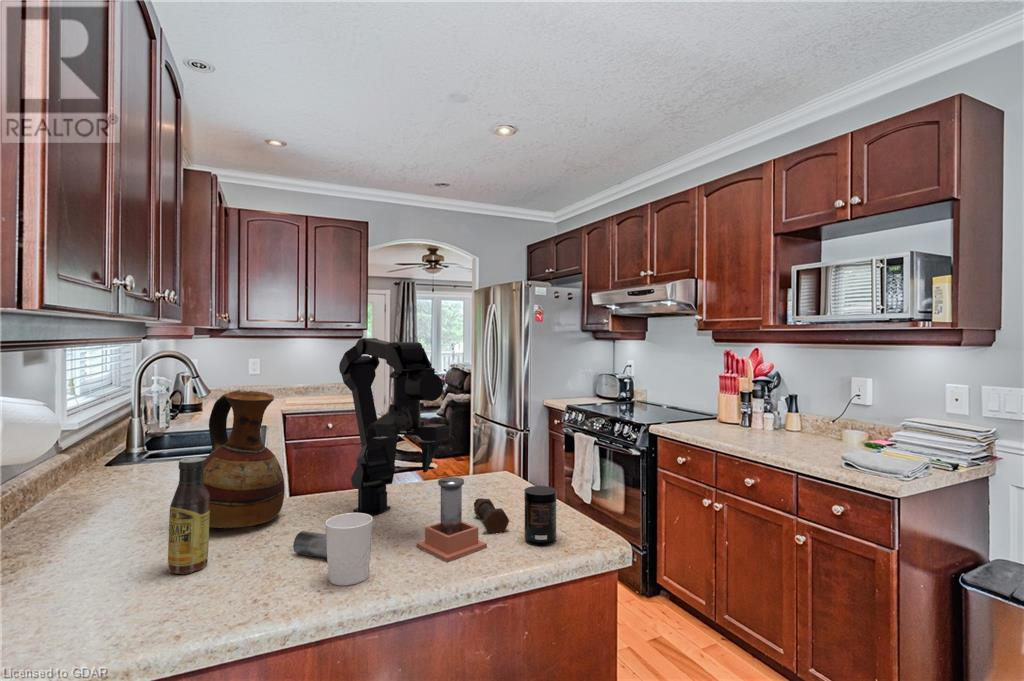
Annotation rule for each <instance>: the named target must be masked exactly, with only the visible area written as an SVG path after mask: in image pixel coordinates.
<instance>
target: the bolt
mask: <svg viewBox="0 0 1024 681" xmlns="http://www.w3.org/2000/svg"><path fill="white" fill-rule="evenodd" d="M473 510H474V513H475V514H476V516H477V518H478V519H479V520H482V524H483V526H484V528H485V529H486V531H487V532H488V534H490V535H495V534H496V533H498V534H502V533H504V532H505V531H506V529H507V527H508V525H509V523H510V519H509V517H508V516H507V514H506V513H505V511H504V509H503V508H500V507H499V508H496V507H495V505H494V503H493V501H492V500H491V499H490V498H483V497H482V498H477V499H475V501H474V503H473Z"/></svg>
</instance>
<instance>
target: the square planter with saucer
mask: <svg viewBox="0 0 1024 681" xmlns="http://www.w3.org/2000/svg"><path fill="white" fill-rule="evenodd" d="M487 545H488V543H486V542H485V541H482V540H479V526H475V525H473V524H470V523H468V522H465V521H463V520H462V531H461V532H458V533H455V534H452V535H446V534H444V533H442V532H441V522H437V523H434V524H431V525H428V526H425V527H424V540H422V541H418V542H416V546H417V547H418V549H419V548H420V550H421V549H422V550H421V551H423V550H425V551H426V553H427V552H428V553H427V554H429V553H430V554H429V555H431V554H432V556H433V555H434V556H433V557H435V556H436V557H435V558H437V557H438V558H437V559H439V558H440V559H439V560H441V559H442V560H441V561H443V560H444V561H443V562H445V561H446V562H445V563H449V562H452V561H454V559H455V560H457V559H460V558H462V557H466V556H467V555H470V554H472V553H475V552H479V551H481V550H483V549H484V550H485V549H487V548H488V546H487ZM416 546H415V547H416ZM417 547H416V548H417ZM425 551H424V552H425ZM451 560H452V561H451Z"/></svg>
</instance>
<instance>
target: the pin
mask: <svg viewBox="0 0 1024 681" xmlns="http://www.w3.org/2000/svg"><path fill="white" fill-rule="evenodd" d="M292 543H293V544H292V546H293V551H294V553H295V554H298V555H304V556H308V555H309V556H310V557H314V556H315V558H320V557H321V558H322V559H326V558H327V548H326V533H320V532H316V531H315V532H314V531H307V530H301V531H300V532H298V533H297V534H296V536H295V537H294V541H293V542H292Z"/></svg>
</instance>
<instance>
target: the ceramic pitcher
mask: <svg viewBox="0 0 1024 681" xmlns="http://www.w3.org/2000/svg"><path fill="white" fill-rule="evenodd" d="M274 400H275V396H274V395H273V394H270V393H267V392H264V391H253V390H248V391H247V390H242V391H241V390H234V391H230V392H227V393H224V394H222V395H221V396H220V397H219V398H217V400H216V401H215V402H214V404H213V406H212V409H211V413H210V415H209V420H208V431H209V438H210V441H211V442H210V443H211V453H209V455H208V456H206V458H204V459H205V466H204V468H203V479H204V481H203V483H204V486H205V488H206V489H207V490H208V492H209V494H210V502H209V508H210V519H209V528H219V529H234V528H246V527H253V526H256V525H259V524H263V523H264V524H265V523H267V522H270V521H271V520H273V519H274V518H275V517H277V515H279V514H280V512H281V510H282V508H283V504H284V498H285V479H284V473H283V469H282V467H281V464H280V462H279V459H278V458H277V456H276V455H275V454H274V453H273V452H272V451H271V450H270V449H269V448H267V447H266V446H265V445H264V444H263V442H262V437H261V428H262V424H263V419H264V418H263V417H264V414H265V411H266V409H267V408H268V406H269V405H271V403H272V402H274ZM231 409H232V416H233V419H232V420H233V423H232V429H231V431H230V435H229V436H228V433H227V424H228V423H227V421H228V416H229V413H230V410H231Z"/></svg>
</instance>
